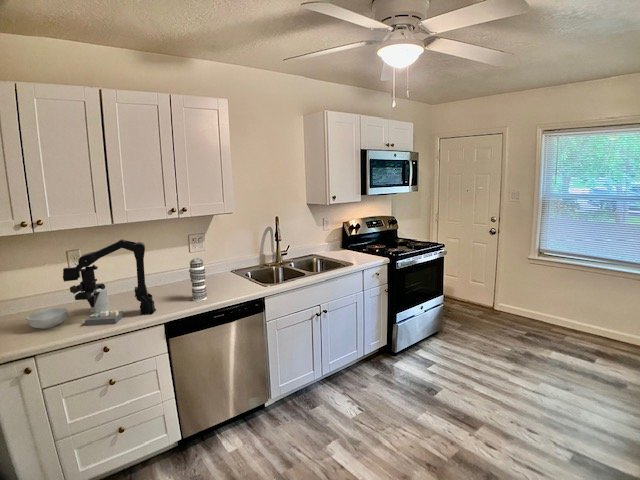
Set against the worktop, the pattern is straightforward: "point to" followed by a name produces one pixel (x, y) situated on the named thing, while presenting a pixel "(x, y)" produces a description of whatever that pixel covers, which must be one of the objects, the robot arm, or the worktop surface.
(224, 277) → the worktop surface
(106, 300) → the supplement box
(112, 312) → the key
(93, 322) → the gray key socket board
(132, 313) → the worktop surface
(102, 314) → the key mid
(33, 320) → the cereal bowl
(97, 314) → the key
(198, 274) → the decorative candle
